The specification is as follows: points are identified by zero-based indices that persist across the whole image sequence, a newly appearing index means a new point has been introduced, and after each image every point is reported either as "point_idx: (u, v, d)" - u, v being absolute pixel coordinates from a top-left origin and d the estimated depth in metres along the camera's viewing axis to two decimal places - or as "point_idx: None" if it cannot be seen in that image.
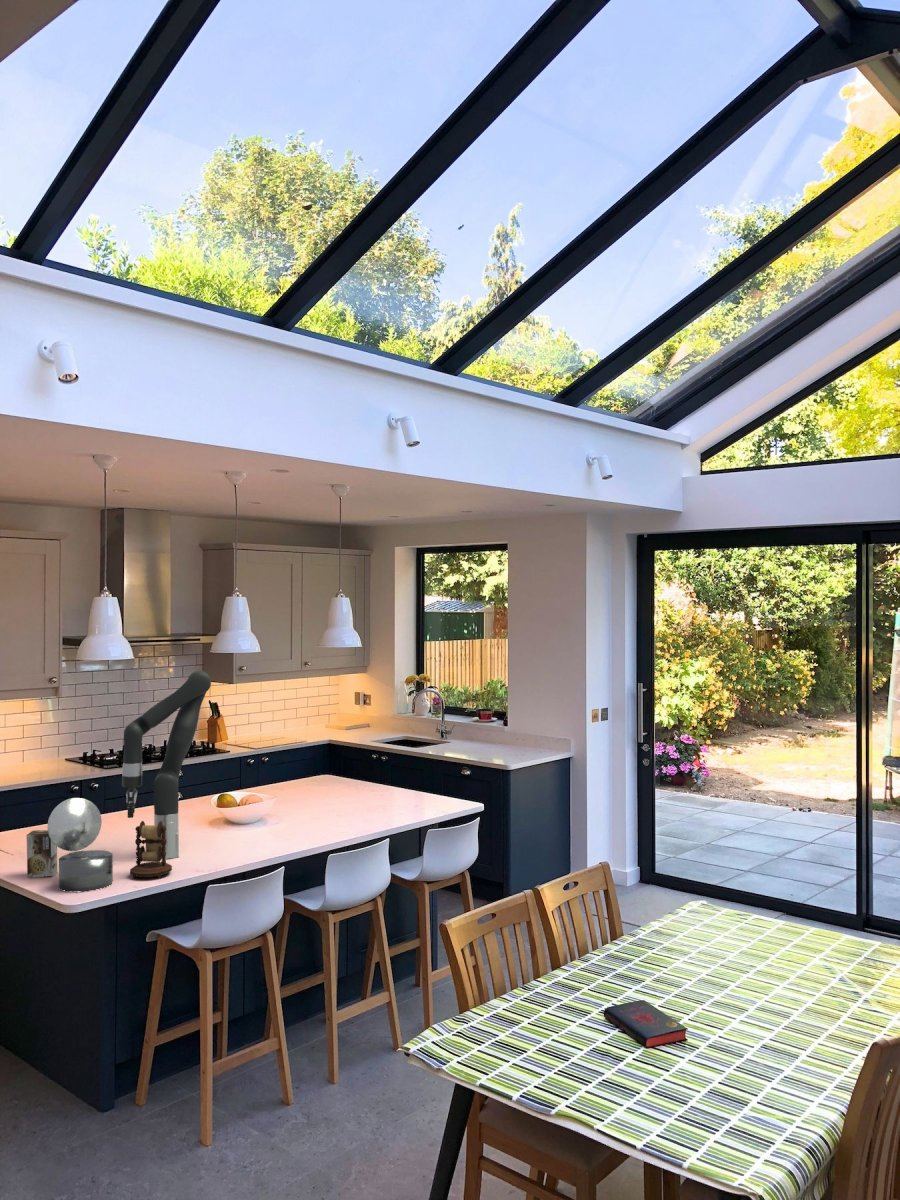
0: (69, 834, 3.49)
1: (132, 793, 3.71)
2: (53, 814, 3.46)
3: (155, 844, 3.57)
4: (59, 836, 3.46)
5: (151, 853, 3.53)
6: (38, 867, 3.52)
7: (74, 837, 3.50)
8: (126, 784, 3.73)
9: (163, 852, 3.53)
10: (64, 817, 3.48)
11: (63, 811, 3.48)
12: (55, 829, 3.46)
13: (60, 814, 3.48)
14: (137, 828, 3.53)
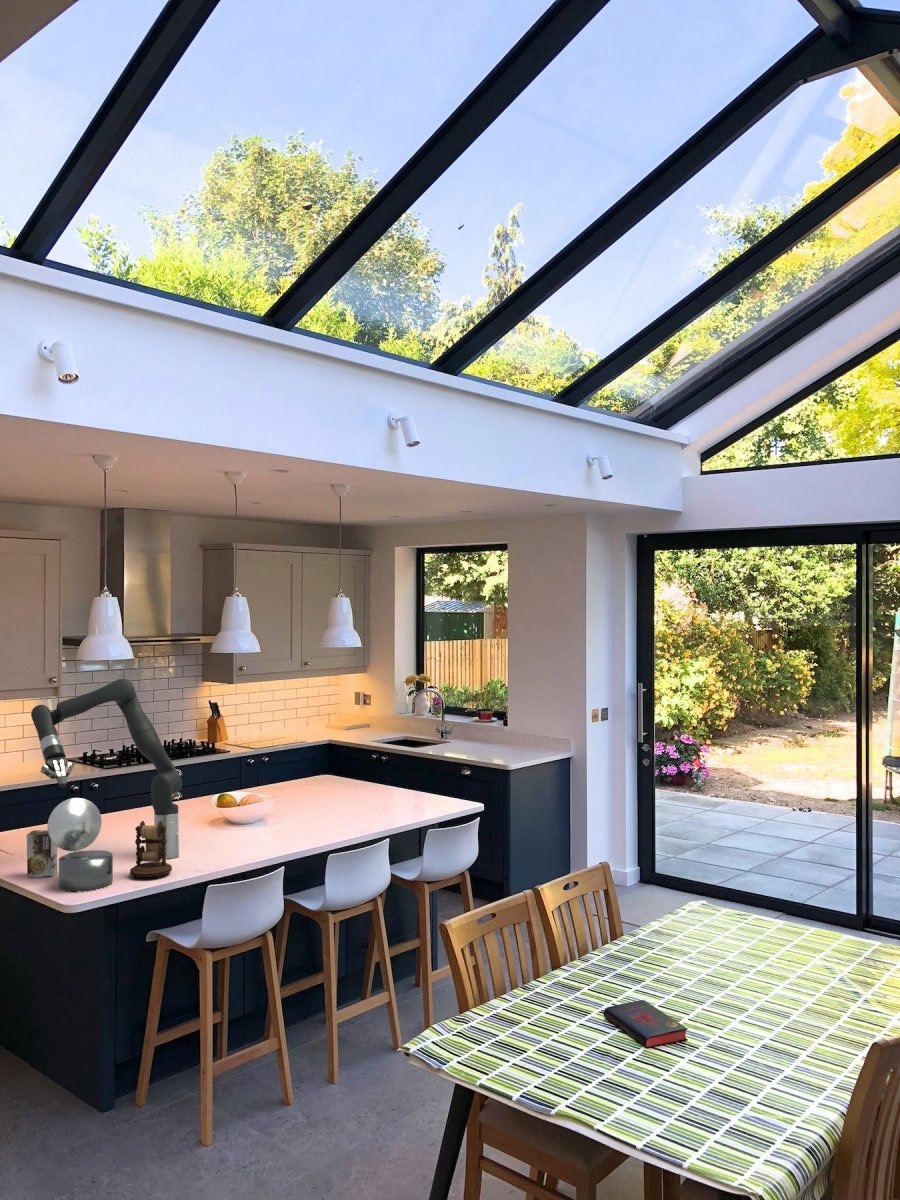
0: (69, 834, 3.49)
1: (73, 767, 3.69)
2: (53, 814, 3.46)
3: (155, 844, 3.57)
4: (59, 836, 3.46)
5: (151, 853, 3.53)
6: (38, 867, 3.52)
7: (74, 837, 3.50)
8: None
9: (163, 852, 3.53)
10: (64, 817, 3.48)
11: (63, 811, 3.48)
12: (55, 829, 3.46)
13: (60, 814, 3.48)
14: (137, 828, 3.53)
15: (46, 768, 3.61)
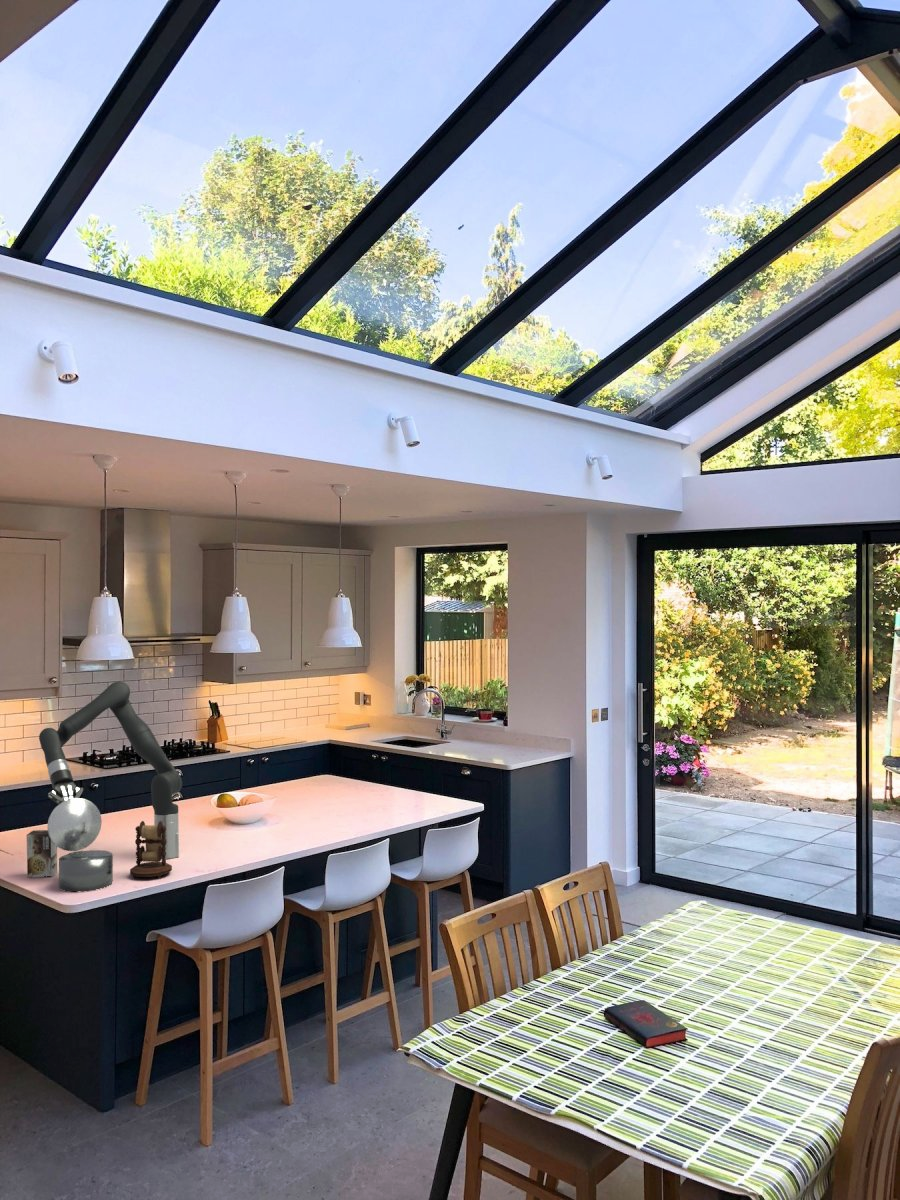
0: (69, 834, 3.49)
1: (81, 792, 3.61)
2: (53, 814, 3.46)
3: (155, 844, 3.57)
4: (59, 836, 3.46)
5: (151, 853, 3.53)
6: (38, 867, 3.52)
7: (74, 837, 3.50)
8: None
9: (163, 852, 3.53)
10: (64, 817, 3.48)
11: (63, 811, 3.48)
12: (55, 829, 3.46)
13: (60, 814, 3.47)
14: (137, 828, 3.53)
15: (54, 794, 3.53)
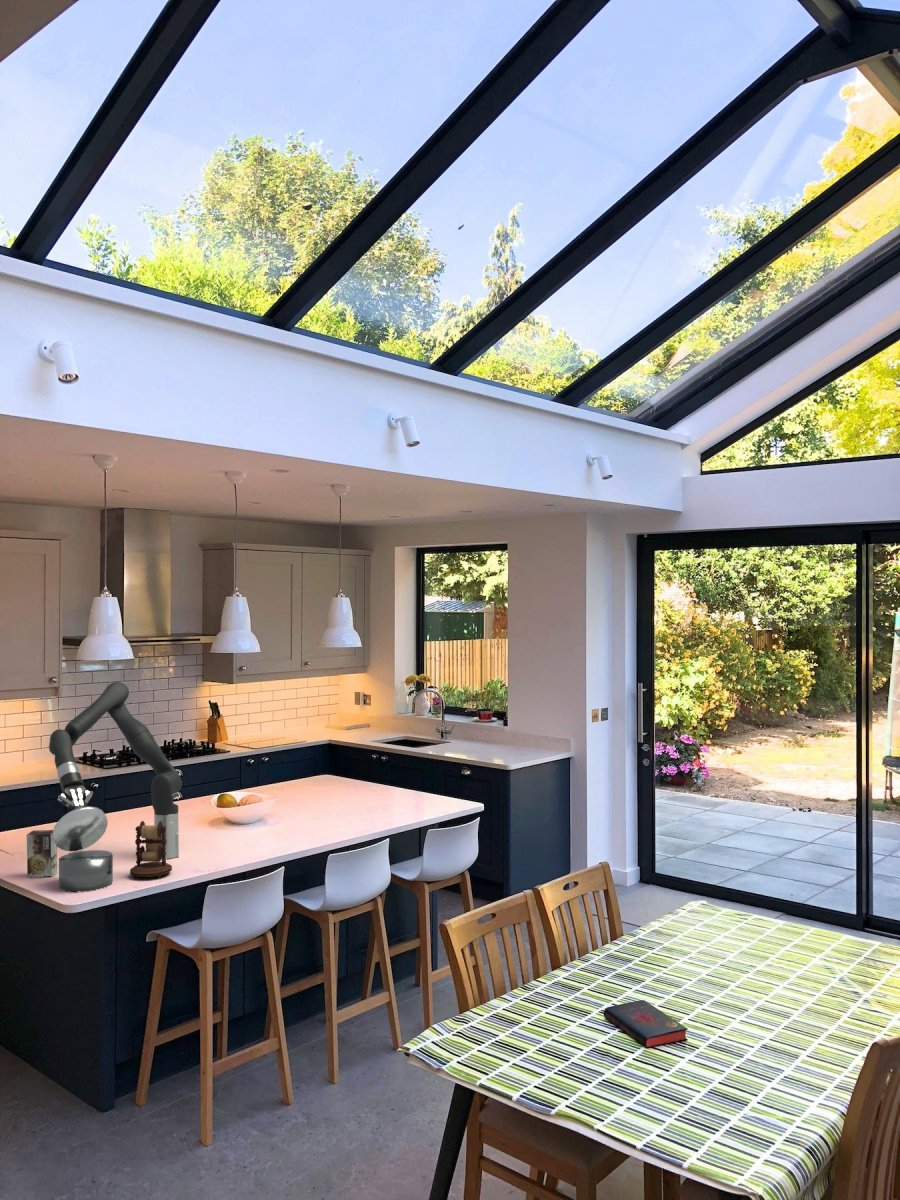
0: (73, 838, 3.46)
1: (91, 795, 3.54)
2: (61, 822, 3.39)
3: (155, 844, 3.57)
4: (62, 840, 3.44)
5: (151, 853, 3.53)
6: (38, 867, 3.52)
7: (77, 840, 3.48)
8: None
9: (163, 852, 3.53)
10: (71, 825, 3.43)
11: (71, 820, 3.42)
12: (60, 835, 3.42)
13: (68, 822, 3.41)
14: (137, 828, 3.53)
15: (63, 797, 3.46)
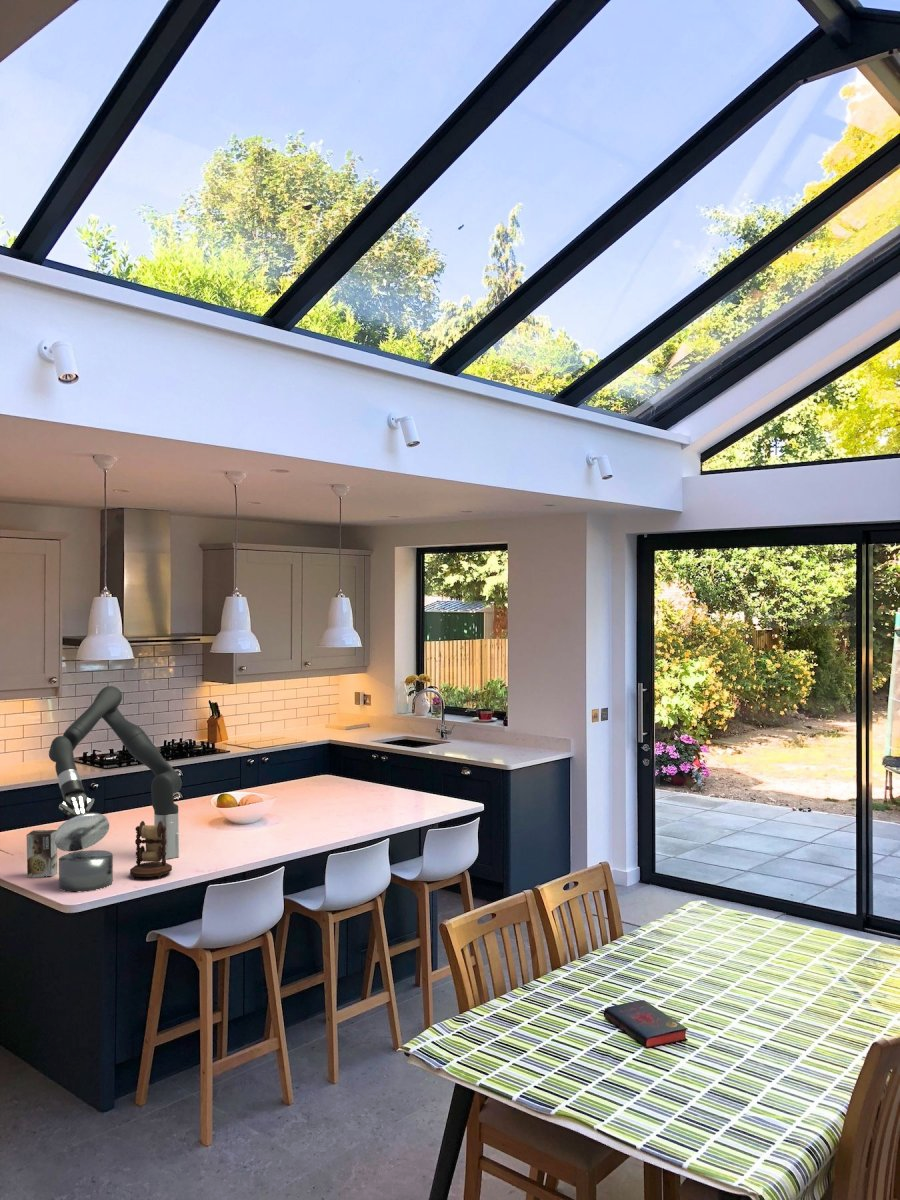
0: (73, 840, 3.45)
1: None
2: (63, 828, 3.38)
3: (155, 844, 3.57)
4: (63, 842, 3.43)
5: (151, 853, 3.53)
6: (38, 867, 3.52)
7: (78, 842, 3.47)
8: None
9: (163, 852, 3.53)
10: (73, 830, 3.41)
11: (74, 825, 3.40)
12: (61, 838, 3.41)
13: (70, 828, 3.40)
14: (137, 828, 3.53)
15: (64, 806, 3.45)
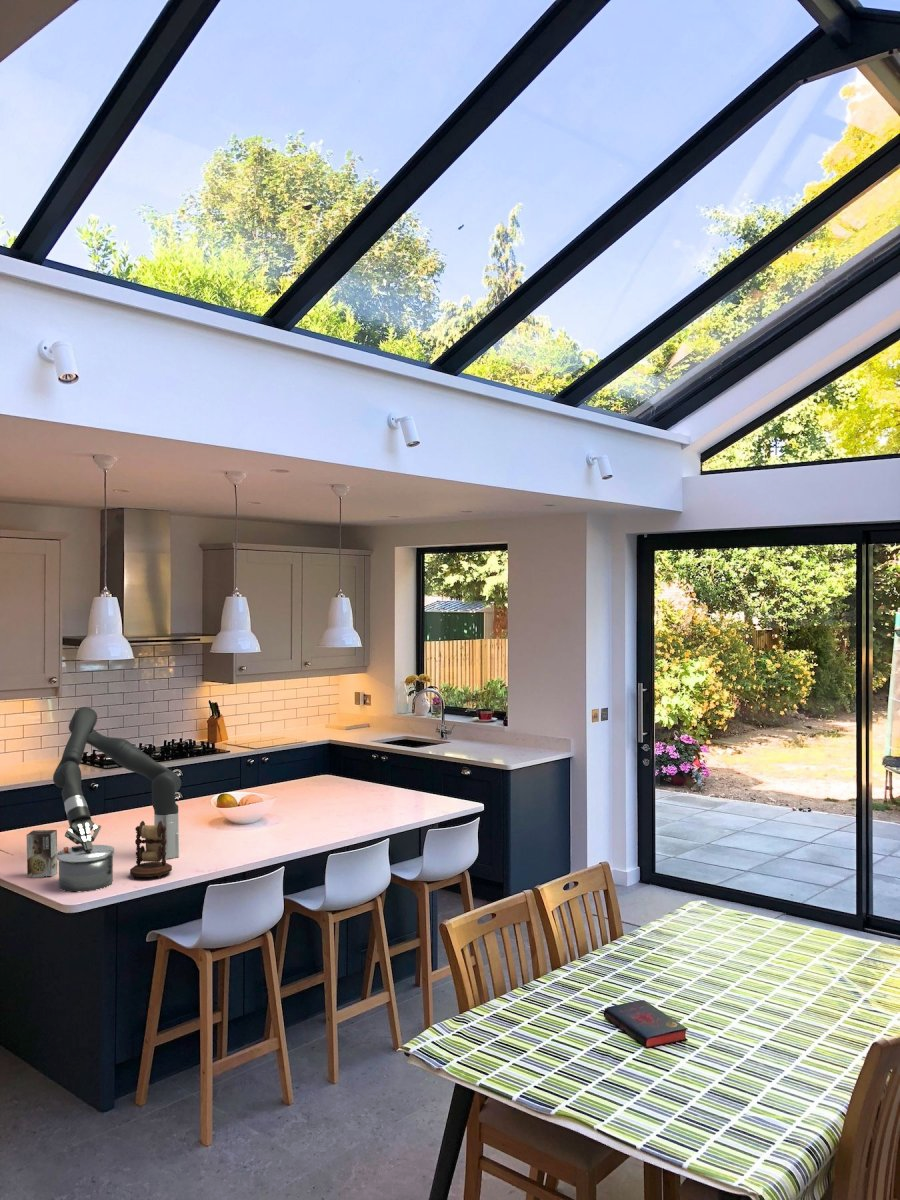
0: None
1: (99, 830, 3.48)
2: (68, 861, 3.34)
3: (155, 844, 3.57)
4: None
5: (151, 853, 3.53)
6: (38, 867, 3.52)
7: None
8: (89, 814, 3.48)
9: (163, 852, 3.53)
10: None
11: None
12: None
13: None
14: (137, 828, 3.53)
15: (71, 833, 3.40)
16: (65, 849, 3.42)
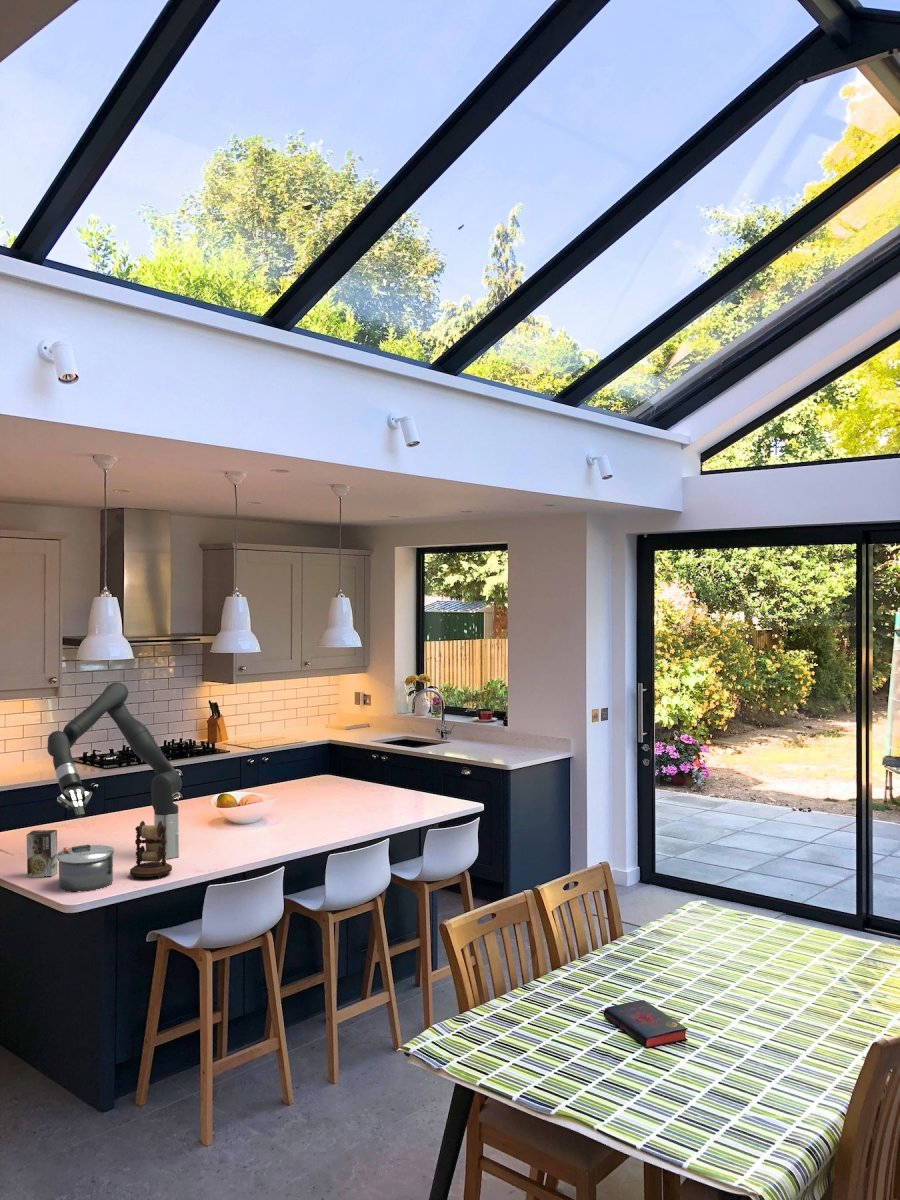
0: None
1: (90, 796, 3.55)
2: (68, 862, 3.34)
3: (155, 844, 3.57)
4: None
5: (151, 853, 3.53)
6: (38, 867, 3.52)
7: None
8: None
9: (163, 852, 3.53)
10: None
11: None
12: None
13: None
14: (137, 828, 3.53)
15: (63, 798, 3.47)
16: (65, 849, 3.42)
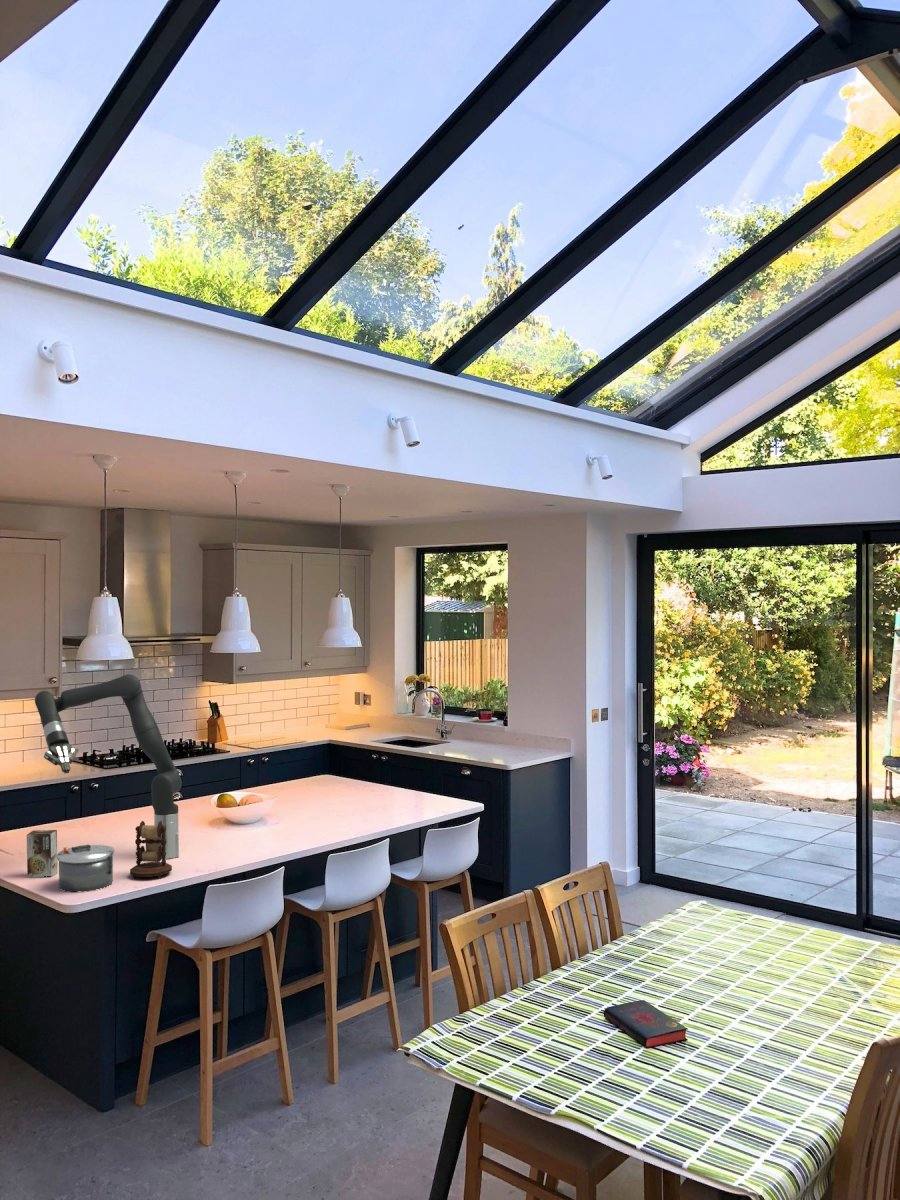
0: None
1: None
2: (68, 862, 3.34)
3: (155, 844, 3.57)
4: None
5: (151, 853, 3.53)
6: (38, 867, 3.52)
7: None
8: (67, 738, 3.66)
9: (163, 852, 3.53)
10: None
11: None
12: None
13: None
14: (137, 828, 3.53)
15: (49, 754, 3.58)
16: (65, 849, 3.42)
